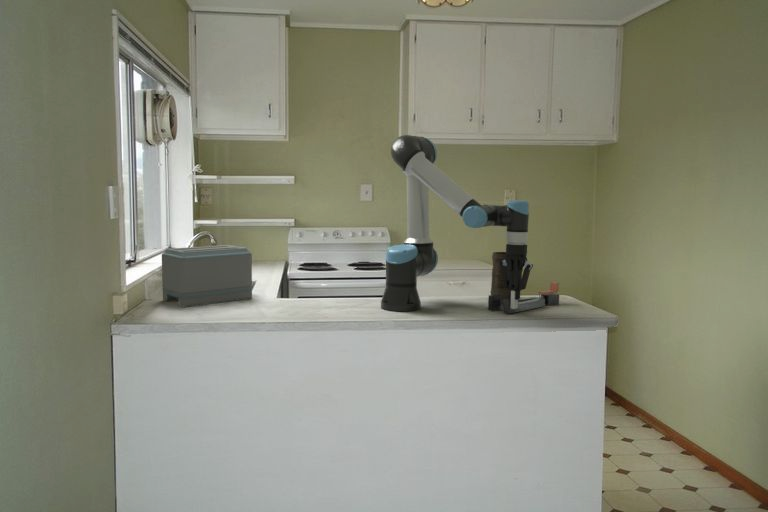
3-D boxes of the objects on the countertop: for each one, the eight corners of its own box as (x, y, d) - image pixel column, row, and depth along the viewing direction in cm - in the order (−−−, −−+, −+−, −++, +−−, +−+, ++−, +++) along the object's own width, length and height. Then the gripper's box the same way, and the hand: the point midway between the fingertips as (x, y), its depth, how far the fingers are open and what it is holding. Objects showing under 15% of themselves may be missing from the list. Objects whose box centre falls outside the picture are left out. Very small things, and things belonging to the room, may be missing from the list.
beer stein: (516, 303, 249) (518, 253, 248) (489, 302, 251) (491, 252, 250) (516, 299, 264) (518, 251, 263) (490, 298, 266) (492, 251, 265)
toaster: (261, 297, 255) (260, 247, 253) (183, 308, 233) (182, 253, 230) (237, 291, 269) (236, 243, 266) (161, 300, 246) (160, 248, 244)
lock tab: (552, 291, 252) (552, 281, 252) (558, 292, 250) (558, 282, 249) (537, 293, 248) (538, 283, 248) (543, 294, 245) (544, 284, 245)
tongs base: (549, 302, 254) (549, 288, 253) (558, 304, 250) (559, 290, 249) (488, 309, 237) (488, 295, 236) (497, 312, 232) (497, 297, 232)
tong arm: (539, 305, 246) (540, 292, 245) (544, 306, 244) (545, 292, 244) (503, 312, 230) (504, 298, 230) (508, 313, 229) (509, 299, 228)
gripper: (538, 244, 225) (535, 309, 227) (506, 241, 234) (504, 304, 236) (527, 245, 219) (524, 312, 222) (495, 242, 228) (493, 306, 231)
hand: (514, 308), depth 229 cm, fingers closed
